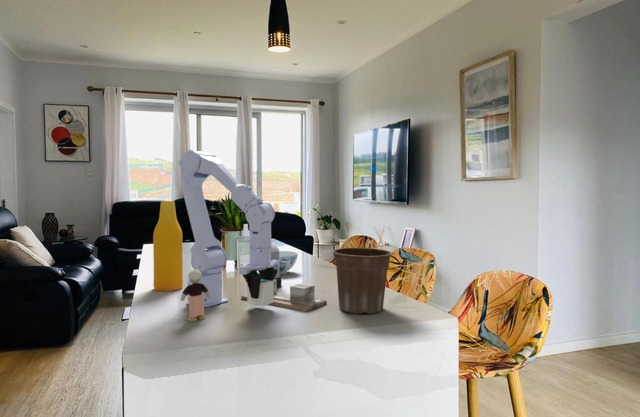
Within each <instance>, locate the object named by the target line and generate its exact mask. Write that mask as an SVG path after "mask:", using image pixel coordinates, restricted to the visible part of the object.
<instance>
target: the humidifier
mask: <svg viewBox="0 0 640 417" xmlns="http://www.w3.org/2000/svg"><path fill="white" fill-rule="evenodd" d="M279 251H280V249H279V247H278V246H277V245H276V244H274V243H273V242H271V260H279ZM274 269H277V274H276V276H275V278H274V280H277V289H279V288H281V287H282V277H281V276H280V275H279V267H274Z"/></svg>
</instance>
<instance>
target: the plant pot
mask: <svg viewBox="0 0 640 417" xmlns="http://www.w3.org/2000/svg"><path fill="white" fill-rule="evenodd" d="M332 253H333V255H334V265H335V268H336V276H337V277H336V279H337V280H336V282H337V292H338V294H337V296H338V307H339V309H340V311H343V312H344V313H348V314H356V315H362V314H363V313H364V314H365V313H366V314H367V315H371V314H377V313H378V314H379V313H380V312H383V310H384V302H385V292H386V284H387V276H388V269H389V268H390V262H391V256H393V252H391V251H389V250H386V249H381V248H372V247H371V248H370V247H342V248H336V249H332Z"/></svg>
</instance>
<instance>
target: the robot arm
mask: <svg viewBox="0 0 640 417" xmlns="http://www.w3.org/2000/svg"><path fill="white" fill-rule="evenodd" d="M178 164H179V167H180V172H181V173H180V186H181V189H182V194H183V198H184V202H185V206H186V210H187V215H188V218H189V222H190V226H191V231H192V234H193V238H194V243H193V244H192V246H191V247H190V264H191V268H192V270H194V269H197V270H199V271H200V272H201V274H202V276H201V277H202V278H201V279H200V281H199V282H198V283H202V284H203V285H204V286H205V287H206V288H207V289H208V292H209V294H210V297H209V298H207V297H206V295H205V293H204V292H202V297H203V304H204V308H208V307H211V306H216V305H219V304H223V303H225V302H229V299H228V298H224V297H223V271H224V267H225V266H226V264H227V262H228V255H227V252H226V251H225V249H224V247H223V246H222V242H220V240H219V239H217V238H216V237H215V234H214V231H213V228H212V224H211V219H210V216H209V212H208V207H207V205H206V200H205V197H204V193H203V188H202V185H203V184H204V182H205V181H206V180H207V179H208V178H209V177H210V176H213V178H215V179H216V180H217V181H218V182H219V184H221V185H222V186H223V187H224V188H225V189H227V190H228V192H230V199H231V200H232V201H233V202H234V204H236V206H238V207H239V208H240V210H241V211H242V212H243V213H244V214H245V219H246V221H247V223H248V225H249V228H248V229H249V263H246V264H244V265H241V266H239V271H238V273H239V274H240V275H242V277H243V279H244V280H245V282H246V284H248V287H249V291H250V295H251V298H255V299H257V298H258V297H259V287H260V282H261V279H265V280H270V281H273V280H274V278H275V276H276V274H277V269H274V267H280V260H271V243H272V222H273V220H274V219H275V216H276V212H275V209H274V207H273V206H272V204H271V203H269V202H264V199H263V198H262V197H260V196H258V195H257V194H256V193H255V192H254V191H253V188H252V186H250V185H247V184H246V183H243V184H241V183H239V182H238V181H237V179H236V178H235V177H234V176H233V174H232V173H231V172H230V171H229V170H228V169H227V168H226V167H225V165H224V164H223V163H222V160H221V159H220V158H219V157H217V155H216V154H215V153H214V152H209V151H207V152H206V151H199V150H198V151H197V150H193V149H189V150H185V151H184V153H183V154H182V155H181V158H180V159H179V160H178ZM191 284H193V283H191V281H190V280H189V279H188V281H187V286H189V285H191ZM185 304H187V305H189V295H187V301H186V302H185Z"/></svg>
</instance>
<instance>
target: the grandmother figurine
mask: <svg viewBox="0 0 640 417" xmlns="http://www.w3.org/2000/svg"><path fill="white" fill-rule="evenodd" d="M201 276H202V274H201V272H200V271H199V270H197V269H192V270H191V271H189V273H188V275H187V277H188V280H190V281H191V283H193V284H191V285H189V286H188V285H187V286H186V287H185V288H184V289H183V291H182V294H181V297H180V301H182V302H184V301H185V300H186V299H185V298H186V297H188V295H189V304H188V312H189V317H188V318H187V320H188V321H190V322H197V321H198V320H205V319H206V316H205V307H204V304H203V297H202V292H204V293H205V295H206V297H207V298H209V297H210V294H209V292H208V289H207V288H206V287H205V286H204V285H203V284H202V283H198V282H199V281H200V279H201V278H202V277H201Z"/></svg>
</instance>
